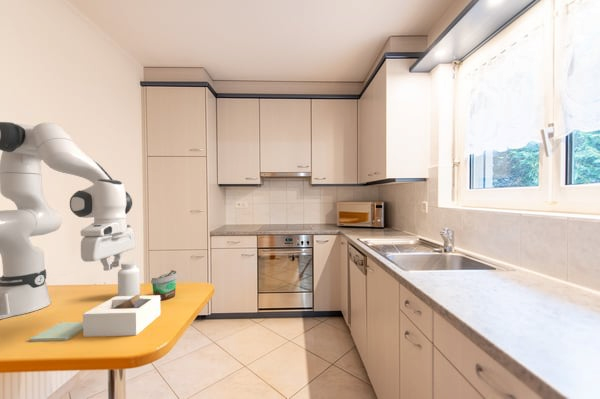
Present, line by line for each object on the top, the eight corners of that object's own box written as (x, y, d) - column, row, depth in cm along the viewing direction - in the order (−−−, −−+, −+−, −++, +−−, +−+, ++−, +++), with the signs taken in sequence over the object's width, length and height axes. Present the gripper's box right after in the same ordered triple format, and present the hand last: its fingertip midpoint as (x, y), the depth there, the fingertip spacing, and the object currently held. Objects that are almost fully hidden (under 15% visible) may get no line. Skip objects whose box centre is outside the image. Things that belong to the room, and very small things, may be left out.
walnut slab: (104, 322, 83) (100, 315, 83) (113, 316, 87) (109, 309, 87) (134, 306, 83) (130, 299, 83) (142, 301, 87) (138, 294, 87)
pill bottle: (123, 301, 104) (122, 265, 104) (114, 298, 109) (113, 263, 109) (143, 295, 111) (143, 261, 111) (134, 292, 115) (133, 259, 115)
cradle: (103, 327, 82) (100, 321, 82) (115, 319, 88) (112, 314, 88) (136, 309, 83) (133, 304, 83) (146, 302, 88) (143, 297, 88)
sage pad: (29, 341, 76) (29, 338, 76) (60, 324, 86) (60, 322, 86) (66, 340, 76) (66, 337, 76) (93, 323, 86) (93, 321, 86)
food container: (164, 303, 102) (163, 279, 102) (151, 302, 103) (150, 278, 103) (184, 292, 114) (183, 270, 114) (172, 291, 115) (171, 269, 115)
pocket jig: (83, 336, 78) (82, 313, 78) (115, 315, 92) (115, 296, 92) (136, 335, 78) (135, 312, 78) (160, 314, 92) (160, 295, 92)
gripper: (122, 224, 95) (123, 260, 95) (75, 231, 75) (76, 278, 75) (139, 223, 95) (140, 260, 95) (97, 231, 75) (98, 277, 75)
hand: (112, 268), depth 85 cm, fingers open, 2 cm apart
